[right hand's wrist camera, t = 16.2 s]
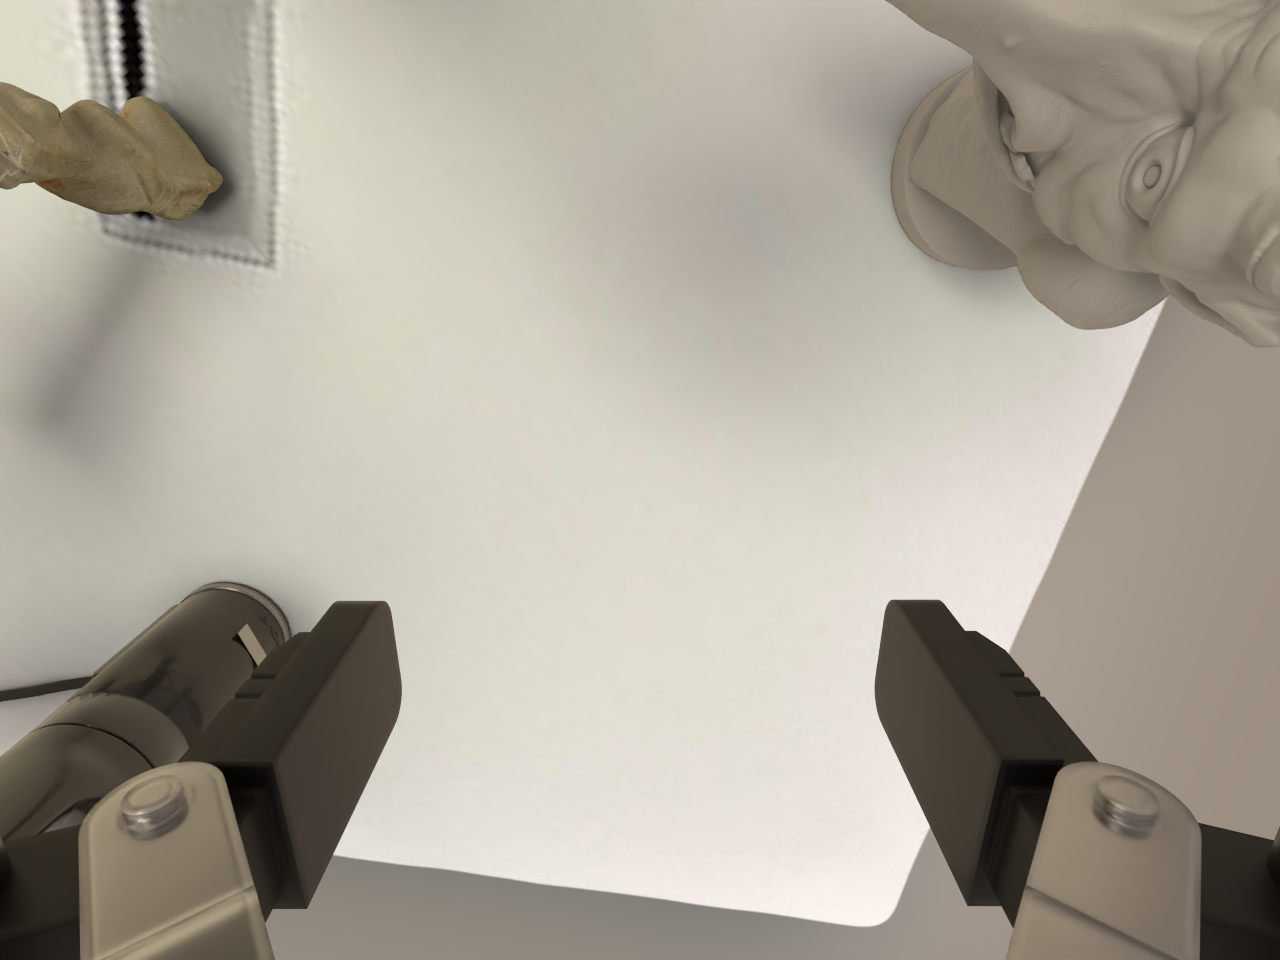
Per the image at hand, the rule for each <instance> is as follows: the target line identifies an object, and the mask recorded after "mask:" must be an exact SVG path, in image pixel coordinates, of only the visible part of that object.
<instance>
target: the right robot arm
mask: <svg viewBox="0 0 1280 960" xmlns="http://www.w3.org/2000/svg"><path fill="white" fill-rule="evenodd" d="M401 696H402V684H401V676H400V669H399V662H398V655H397V648H396V641H395V635H394V628H393V621H392V615H391V610H390V607H389V605H388V604H387V603H386V602H385V601H337V602H335V603H333V605H332V606H331V607H330V608H329V609H328V611H327V612H326V613H325V614H324V616H323V617H322V618H321V620H320V621H319V622H318V623H317V625H316V626H315V627H314V629H313V630H312V631H311V632H299V633H298V634H296V635H295V636H293V637H292V638H290V639H289V640H287V641H286V642H284V643H283V644H281V645H280V646H278V647H276V648H275V649H273V650H272V651H270V652H269V654H268V655H267V656H266V657H265V658H264V659H263V661H262V662H261V663H260V664H259V665H258V667H257V668H256V669H255V670H254V671H253V673H252V674H251V678H250V679H247V680H246V681H245V682H244V683H243V684H242V686H241V687H240V688H239V689H238V690H237V692H236V693H235V697H234V699H230V700H229V701H228V702H227V703H226V705H225V706H224V707H223V708H222V709H221V711H220V712H219V713H218V714H217V715H216V717H215V718H214V719H213V720H212V721H211V722H210V724H209V725H208V726H207V727H206V728H205V730H204V731H203V732H202V733H201V734H200V736H199V737H198V738H197V739H196V740H195V742H194V743H193V744H192V745H191V746H190V747H189V749H188V750H187V751H186V752H185V753H184V755H183V756H182V757H181V758H180V759H179V761H178V762H177V763H173V764H169V765H165V766H161V767H158V768H155V769H152V770H149V771H147V772H144V773H142V774H140V775H137V776H135V777H134V778H132V779H130V780H128V781H126V782H124V783H123V784H121V785H119V786H118V787H116V788H115V789H113V790H112V791H111V792H109V793H108V794H107V795H105V796H104V797H103V798H102V799H101V800H100V801H99V802H98V803H97V804H96V805H95V806H94V807H93V808H92V809H91V810H90V812H89V813H88V814H87V816H86V817H85V819H84V820H83V822H82V824H78V825H75V826H71V827H67V828H62V829H58V830H54V831H49V832H45V833H41V834H37V835H32V836H28V837H24V838H19V839H15V840H11V841H7V842H2V839H1V837H0V960H275V958H274V954H273V950H272V947H271V943H270V940H269V936H268V932H267V929H266V925H265V922H266V921H267V919H268V917H269V915H270V913H271V911H272V909H307V908H308V905H309V903H310V901H311V899H312V897H313V895H314V893H315V891H316V889H317V887H318V885H319V882H320V880H321V878H322V876H323V874H324V872H325V870H326V868H327V866H328V864H329V862H330V859H331V857H332V855H333V853H334V851H335V849H336V847H337V845H338V843H339V841H340V839H341V836H342V834H343V832H344V830H345V828H346V826H347V824H348V822H349V820H350V818H351V816H352V813H353V811H354V809H355V807H356V805H357V803H358V801H359V799H360V797H361V795H362V792H363V790H364V788H365V786H366V784H367V782H368V780H369V778H370V776H371V774H372V772H373V769H374V767H375V765H376V763H377V761H378V759H379V757H380V755H381V753H382V751H383V749H384V746H385V744H386V742H387V740H388V738H389V736H390V734H391V732H392V730H393V728H394V726H395V723H396V721H397V718H398V714H399V710H400V705H401ZM875 700H876V707H877V712H878V715H879V718H880V721H881V723H882V725H883V728H884V730H885V732H886V734H887V736H888V738H889V740H890V742H891V745H892V747H893V749H894V751H895V753H896V755H897V757H898V759H899V761H900V764H901V766H902V768H903V770H904V772H905V774H906V776H907V778H908V781H909V783H910V785H911V787H912V789H913V791H914V793H915V795H916V798H917V800H918V802H919V804H920V806H921V808H922V810H923V812H924V814H925V817H926V819H927V821H928V823H929V825H930V827H931V829H932V831H933V834H934V836H935V838H936V840H937V842H938V844H939V846H940V848H941V850H942V853H943V855H944V857H945V859H946V861H947V863H948V865H949V867H950V869H951V872H952V874H953V876H954V878H955V880H956V882H957V884H958V886H959V889H960V891H961V893H962V895H963V897H964V899H965V901H966V903H967V905H968V906H1002V908H1003V910H1004V912H1005V914H1006V915H1007V917H1008V919H1009V921H1010V923H1011V925H1012V927H1013V932H1012V936H1011V940H1010V943H1009V947H1008V951H1007V954H1006V958H1005V960H1280V828H1279V830H1278V832H1277V835H1276V837H1275V839H1274V840H1269V839H1266V838H1261V837H1257V836H1253V835H1248V834H1244V833H1240V832H1235V831H1231V830H1227V829H1223V828H1218V827H1214V826H1210V825H1205V824H1201V823H1198V822H1197V820H1196V819H1195V817H1194V816H1193V814H1192V813H1191V812H1190V810H1189V809H1188V808H1187V807H1186V806H1185V805H1184V804H1183V803H1182V802H1181V801H1180V800H1179V799H1178V798H1177V797H1176V796H1175V795H1173V794H1172V793H1171V792H1169V791H1168V790H1167V789H1165V788H1164V787H1162V786H1161V785H1159V784H1157V783H1156V782H1154V781H1152V780H1150V779H1148V778H1146V777H1145V776H1143V775H1140V774H1138V773H1136V772H1133V771H1131V770H1128V769H1125V768H1122V767H1119V766H1115V765H1111V764H1107V763H1100V762H1098V761H1097V760H1096V758H1095V757H1094V756H1093V755H1092V754H1091V752H1090V751H1089V750H1088V749H1087V748H1086V746H1085V745H1084V744H1083V743H1082V742H1081V740H1080V739H1079V738H1078V737H1077V736H1076V734H1075V733H1074V732H1073V731H1072V730H1071V728H1070V727H1069V726H1068V725H1067V724H1066V722H1065V721H1064V720H1063V719H1062V718H1061V716H1060V715H1059V714H1058V713H1057V712H1056V710H1055V709H1054V708H1053V707H1052V706H1051V704H1050V703H1049V702H1048V701H1047V700H1046V698H1045V697H1041V696H1040V691H1039V690H1038V689H1037V688H1036V686H1035V685H1034V684H1033V683H1032V682H1031V680H1030V679H1029V678H1028V677H1025V676H1024V672H1023V671H1022V670H1021V668H1020V667H1019V666H1018V665H1017V664H1016V662H1015V661H1014V660H1013V659H1012V658H1011V656H1010V655H1009V654H1008V653H1007V652H1006V650H1004V649H1003V648H1001V647H1000V646H998V645H997V644H995V643H994V642H992V641H991V640H989V639H988V638H986V637H985V636H983V635H981V634H980V633H978V632H977V631H965V630H964V629H963V628H962V626H961V625H960V624H959V623H958V621H957V620H956V619H955V617H954V616H953V615H952V614H951V612H950V611H949V610H948V608H947V607H946V606H945V604H944V603H943V602H941V601H940V600H891V601H890V602H889V603H888V604H887V607H886V610H885V615H884V621H883V628H882V635H881V642H880V649H879V656H878V663H877V670H876V677H875Z"/></svg>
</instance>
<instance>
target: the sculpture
mask: <svg viewBox="0 0 1280 960" xmlns="http://www.w3.org/2000/svg"><path fill="white" fill-rule="evenodd" d="M31 182H35V183H36V184H37V185H39V186H40V187H42V188H44V189H45V190H47V191H49V192H51V193H53V194H55V195H57V196H58V197H60V198H62V199H64V200H67V201H70V202H73V203H76V204H78V205H81V206H83V207H86V208H88V209H91V210H94V211H96V212H99V213H104V214H110V215H116V214H128V213H133V212H138V211H145V212H149V213H151V214H153V215H156V216H159V217H162V218H165V219H170V220H173V219H174V220H184V219H186V218H187V217H189V216H190V215H191V214H192V213H193V212H195V211H196V210H198V209H199V208H200V207H201V206H202V205H203V204H204V201H205V199H206V198H207V197H208V195H209V194H210V193H213V192H215V191H217V189H218V188H219V187H220V185H221V184H222V182H223V177H222V176H221V174H220V173H219V172H218V171H217V170H216V169H215V168H214V167H211V166H210V165H209V164H208V163H207V162H206V161H205V159H204V158H203V156H202V154H201V153H200V151H199V149H198V148H197V146H196V145H195V143H194V142H193V141H192V140H191V138H190V137H189V136H188V135H187V133H186V132H185V131H184V130H183V129H182V127H181V126H180V125H179V124H178V123H177V122H176V121H175V119H174V118H173V117H172V116H171V115H170V114H169V113H168V112H167V111H166V110H165V109H163V108H162V107H161V106H160V105H158V104H157V103H156V102H154V101H153V100H152V99H149V98H146V97H142V96H140V97H135V98H132V99H130V100H128V101H127V102H126V103H125V105H124V107H123V109H122V112H121V113H120V115H118V114H117V113H115V112H114V111H112V110H111V109H109V108H107V107H105V106H103V105H101V104H99V103H97V102H95V101H92V100H81V101H78V102H76V103H74V104H73V105H72V106H70V107H69V108H67V109H66V110H65V111H63V112H62V113H60V111H59V109H58V108H57V107H56V106H55V105H54V104H53V103H51V102H49V101H47V100H45V99H43V98H40V97H38V96H36V95H33V94H31V93H29V92H26V91H24V90H22V89H20V88H18V87H16V86H14V85H11V84H8V83H3V82H0V188H3V189H12V188H15V187H16V186H18V185H19V184H21V183H31Z"/></svg>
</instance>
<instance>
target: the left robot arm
mask: <svg viewBox="0 0 1280 960" xmlns="http://www.w3.org/2000/svg"><path fill="white" fill-rule="evenodd" d="M289 639H290V632H289V628H288V625H287V622H286V620H285V618H284V616H283V615H282V613H281V612H280V610H279V609H278V608H277V607H276V606H275V605H274V604H273V603H272V602H271V601H270V600H269V599H267V598H266V597H265V596H263V595H262V594H260V593H258V592H257V591H255V590H253V589H250V588H248V587H245V586H242V585H237V584H232V583H214V584H209V585H206V586H203V587H200V588H198V589H196V590H195V591H193V592H192V593H191V594H190V595H188V596H187V597H186V598H185V599H184V600H183V601H182V602H181V603H180V604H179V606H174V607H171V608H170V609H169V610H168V611H167V612H165V613H164V614H163V615H162V616H161V617H159V618H158V619H157V620H156V621H155V622H154V623H152V624H151V625H150V626H149V627H148V628H146V629H145V630H144V631H143V632H142V633H140V634H139V635H138V636H137V637H136V638H135V639H133V640H132V641H131V642H130V643H129V644H127V645H126V646H125V647H124V648H123V649H122V650H120V651H119V652H118V653H117V654H116V655H114V656H113V657H112V658H111V659H110V660H109V661H107V662H106V663H105V664H104V665H103V666H101V667H100V668H99V669H98V670H97V671H96V672H94V674H93V675H92V677H84V678H78V679H72V680H66V681H61V682H55V683H50V684H44V685H39V686H34V687H28V688H22V689H15V690H8V691H2V692H0V702H1V701H8V700H14V699H21V698H28V697H34V696H39V695H44V694H49V693H55V692H60V691H66V690H72V689H77V688H81V689H80V690H79V691H78V692H77V693H76V694H74V695H73V696H72V697H71V698H70V699H69V700H67V701H66V702H65V703H64V704H63V705H62V706H61V707H59V708H58V709H57V710H56V711H55V712H54V713H53V714H51V715H50V716H49V717H48V718H47V719H46V720H44V721H43V722H42V723H41V724H40V725H39V726H37V727H36V728H35V729H34V730H33V731H32V732H30V733H29V734H28V735H27V736H25V737H24V738H23V739H22V740H20V741H19V742H18V743H17V744H16V745H15V746H13V747H12V748H11V749H10V750H8V751H7V752H6V753H4V754H3V755H1V756H0V837H1V839H2V842H7V841H11V840H15V839H19V838H24V837H28V836H32V835H37V834H41V833H45V832H49V831H54V830H58V829H62V828H67V827H71V826H75V825H78V824H82V822H83V820H84V819H85V817H86V816H87V814H88V813H89V812H90V810H91V809H92V808H93V807H94V806H95V805H96V804H97V803H98V802H99V801H100V800H101V799H102V798H103V797H104V796H105V795H107V794H108V793H109V792H111V791H112V790H113V789H115V788H116V787H118V786H119V785H121V784H123V783H124V782H126V781H128V780H130V779H132V778H134V777H135V776H137V775H140V774H142V773H144V772H147V771H149V770H152V769H155V768H158V767H161V766H165V765H169V764H173V763H177V762H178V761H179V759H180V758H181V757H182V756H183V755H184V753H185V752H186V751H187V750H188V749H189V747H190V746H191V745H192V744H193V743H194V742H195V740H196V739H197V738H198V737H199V736H200V734H201V733H202V732H203V731H204V730H205V728H206V727H207V726H208V725H209V724H210V722H211V721H212V720H213V719H214V718H215V717H216V715H217V714H218V713H219V712H220V711H221V709H222V708H223V707H224V706H225V705H226V703H227V702H228V701H229V700H230V699H234V697H235V693H236V692H237V690H238V689H239V688H240V687H241V686H242V684H243V683H244V682H245V681H246V680H247V679H250V678H251V674H252V673H253V671H254V670H255V669H256V668H257V667H258V665H259V664H260V663H261V662H262V661H263V659H264V658H265V657H266V656H267V655H268V654H269V652H270V651H272V650H273V649H275V648H276V647H278V646H280V645H281V644H283V643H284V642H286V641H287V640H289Z"/></svg>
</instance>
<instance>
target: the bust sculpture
mask: <svg viewBox="0 0 1280 960" xmlns="http://www.w3.org/2000/svg"><path fill="white" fill-rule="evenodd" d="M886 1H887V2H889V3H890V4H892V5H893V6H895V7H896V8H898V9H899V10H900V11H902V12H903V13H904V14H906V15H907V16H908V17H910V18H911V19H912V20H913V21H914V22H916V23H917V24H919V25H920V26H921V27H923V28H924V29H926V30H928V31H930V32H932V33H934V34H936V35H938V36H940V37H942V38H945V39H946V40H948V41H950V42H952V43H954V44H956V45H957V46H959V47H961V48H962V49H964V50H966V51H967V52H968V53H970V54H971V55H972V56H973V66H971V67H969V68H967V69H965V70H962V71H960V72H958V73H957V74H955V75H953V76H951V77H950V78H948V79H947V80H945V81H944V82H943V83H941V84H940V85H939V86H938V87H936V88H935V89H934V90H933V91H932V92H931V93H930V94H929V95H928V96H927V97H926V98H925V99H924V100H923V101H922V103H921V104H920V105H919V106H918V108H917V109H916V110H915V112H914V113H913V115H912V116H911V118H910V119H909V121H908V123H907V125H906V127H905V129H904V131H903V133H902V135H901V137H900V140H899V143H898V146H897V149H896V152H895V156H894V161H893V168H892V196H893V202H894V206H895V210H896V213H897V216H898V219H899V221H900V223H901V225H902V227H903V229H904V231H905V232H906V234H907V235H908V237H909V238H910V239H911V240H912V242H913V243H914V244H915V245H916V246H917V247H918V248H919V249H921V250H922V251H923V252H924V253H926V254H927V255H929V256H930V257H932V258H934V259H936V260H938V261H940V262H943V263H946V264H949V265H953V266H959V267H964V268H970V269H977V270H997V269H1004V268H1009V267H1013V266H1016V265H1017V266H1018V270H1019V273H1020V275H1021V277H1022V280H1023V282H1024V284H1025V286H1026V288H1027V289H1028V290H1029V291H1030V293H1031V294H1032V295H1033V296H1034V297H1035V298H1036V299H1037V300H1038V301H1039V302H1041V304H1043V305H1044V306H1046V307H1047V308H1048V309H1050V310H1051V311H1052V312H1053V313H1055V314H1056V315H1057V316H1059V317H1060V318H1061V319H1062V320H1063V321H1065V322H1066V323H1068V324H1069V325H1071V326H1073V327H1076V328H1079V329H1086V330H1093V329H1106V328H1112V327H1116V326H1120V325H1123V324H1126V323H1128V322H1131V321H1133V320H1135V319H1137V318H1138V317H1140V316H1141V315H1142V314H1144V313H1145V312H1146V311H1148V310H1149V309H1151V308H1153V307H1154V306H1156V305H1157V304H1158V303H1160V302H1161V301H1162V300H1164V299H1165V298H1166V297H1167V296H1168V295H1169V294H1171V295H1172V296H1173V297H1174V298H1175V299H1176V300H1177V301H1178V302H1179V303H1181V304H1182V305H1183V306H1184V307H1186V308H1187V309H1188V310H1190V311H1191V312H1193V313H1194V314H1195V315H1197V316H1198V317H1200V318H1202V319H1204V320H1207V321H1210V322H1212V323H1214V324H1217V325H1219V326H1221V327H1223V328H1224V329H1226V330H1228V331H1229V332H1231V333H1233V334H1234V335H1236V336H1238V337H1240V338H1241V339H1243V340H1244V341H1245V342H1246V343H1248V344H1250V345H1251V346H1254V347H1276V346H1280V0H886Z"/></svg>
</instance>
